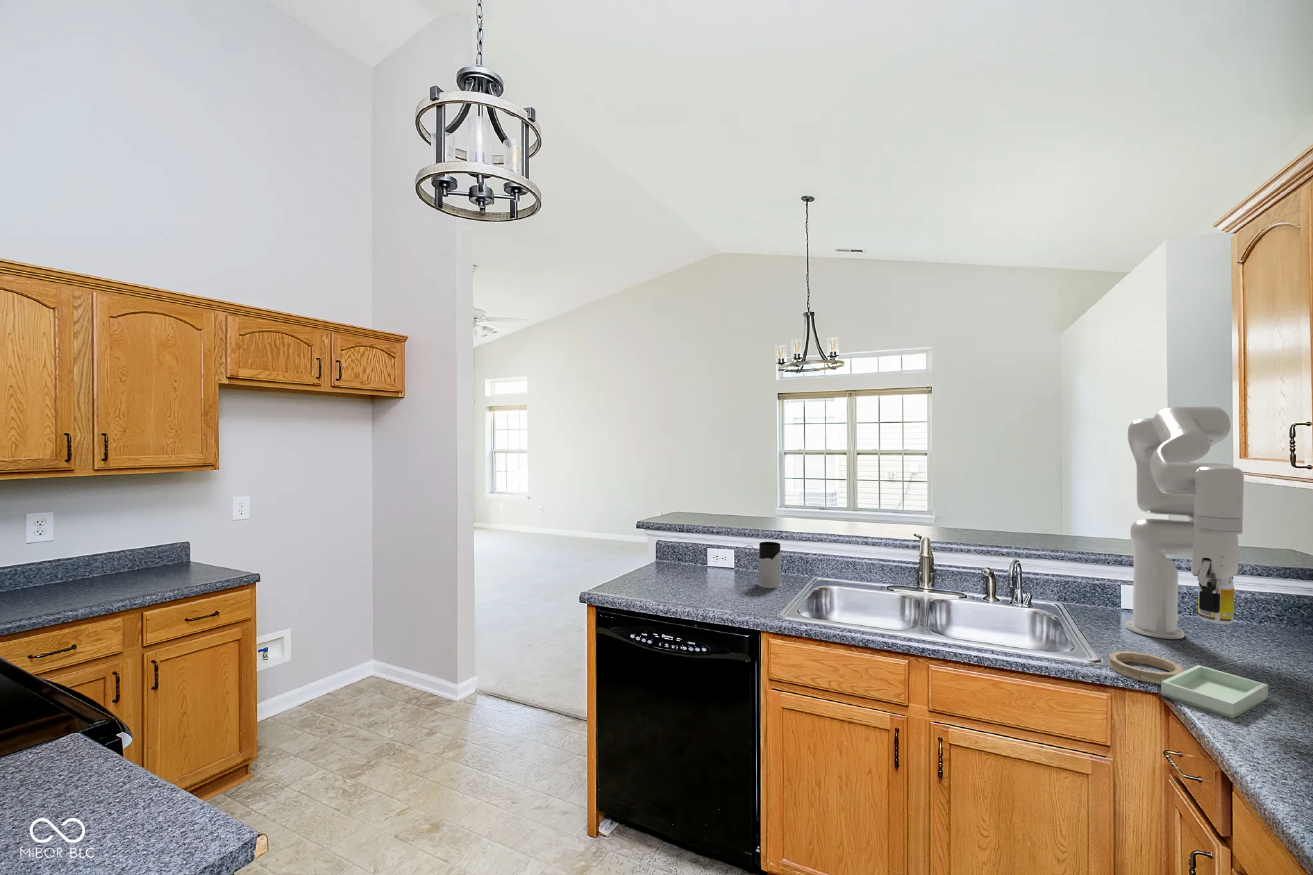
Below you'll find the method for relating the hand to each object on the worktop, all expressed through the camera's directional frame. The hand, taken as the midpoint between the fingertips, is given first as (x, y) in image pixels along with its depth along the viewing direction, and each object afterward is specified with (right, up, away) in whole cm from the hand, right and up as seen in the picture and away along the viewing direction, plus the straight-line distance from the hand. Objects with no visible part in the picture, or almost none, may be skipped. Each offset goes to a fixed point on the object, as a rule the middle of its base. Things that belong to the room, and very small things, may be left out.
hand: (1215, 607), depth 127 cm
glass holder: (-81, -17, +89) cm, 122 cm away
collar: (-4, -19, +13) cm, 23 cm away
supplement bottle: (0, -3, 0) cm, 3 cm away
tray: (0, -19, 0) cm, 19 cm away
